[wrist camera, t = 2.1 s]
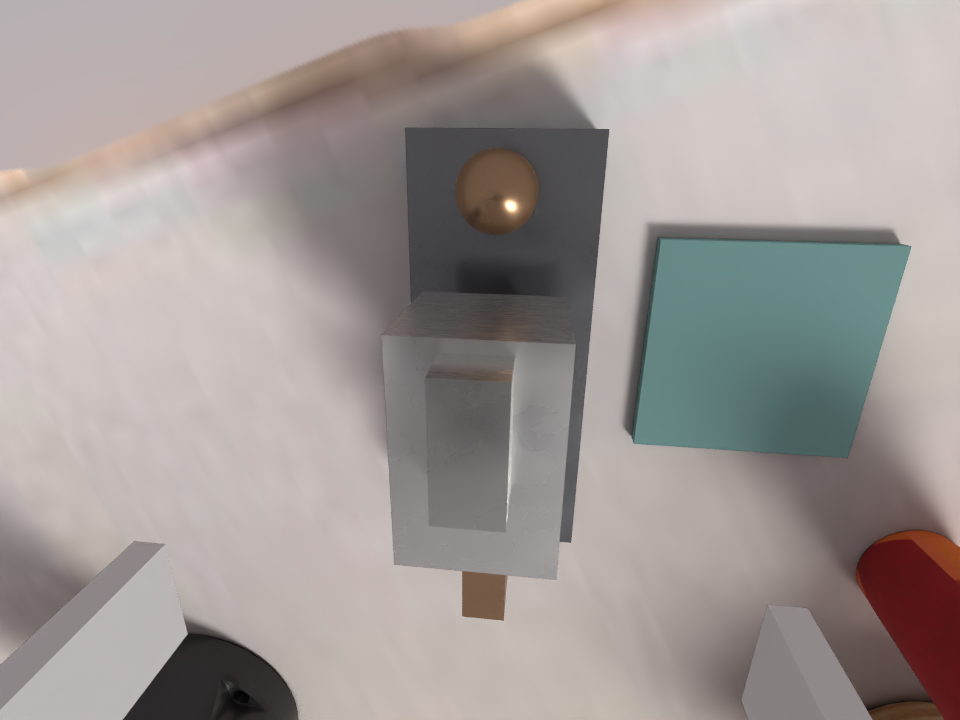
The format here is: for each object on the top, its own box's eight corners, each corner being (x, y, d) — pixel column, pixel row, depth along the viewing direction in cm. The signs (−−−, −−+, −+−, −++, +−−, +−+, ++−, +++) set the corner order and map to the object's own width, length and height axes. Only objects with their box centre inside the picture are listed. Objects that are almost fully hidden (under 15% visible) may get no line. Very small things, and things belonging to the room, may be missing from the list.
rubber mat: (631, 437, 32) (633, 443, 31) (658, 237, 28) (661, 239, 27) (840, 450, 31) (847, 457, 30) (901, 244, 26) (911, 246, 26)
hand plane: (432, 490, 35) (391, 609, 26) (424, 132, 27) (362, 116, 18) (567, 501, 34) (577, 628, 25) (599, 134, 26) (631, 118, 17)
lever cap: (427, 475, 25) (378, 607, 18) (422, 291, 22) (360, 357, 14) (553, 484, 24) (557, 625, 17) (567, 297, 21) (579, 368, 14)
